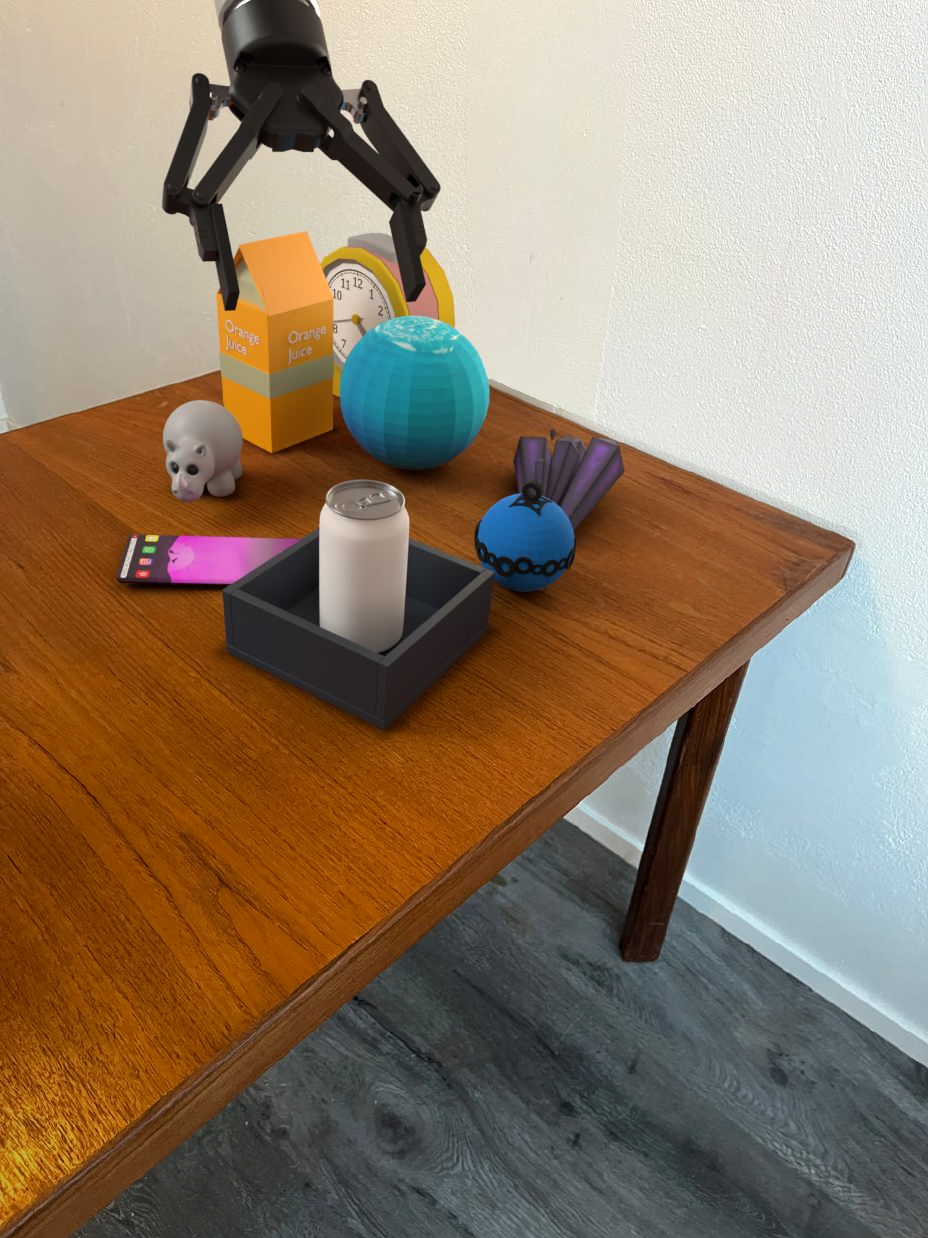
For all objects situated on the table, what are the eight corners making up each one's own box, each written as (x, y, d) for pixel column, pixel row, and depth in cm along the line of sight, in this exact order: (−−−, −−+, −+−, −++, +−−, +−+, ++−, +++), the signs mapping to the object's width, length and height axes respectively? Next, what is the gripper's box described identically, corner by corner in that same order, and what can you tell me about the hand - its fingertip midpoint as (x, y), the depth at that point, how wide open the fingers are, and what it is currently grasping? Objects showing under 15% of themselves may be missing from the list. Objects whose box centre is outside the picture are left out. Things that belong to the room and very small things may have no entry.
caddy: (226, 652, 74) (221, 589, 71) (342, 569, 84) (343, 511, 81) (384, 730, 68) (387, 666, 65) (487, 631, 79) (495, 571, 76)
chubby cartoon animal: (141, 525, 87) (130, 439, 82) (181, 464, 97) (173, 383, 92) (221, 534, 87) (215, 448, 82) (252, 472, 97) (249, 391, 92)
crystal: (607, 502, 85) (638, 399, 100) (479, 487, 88) (528, 389, 103) (602, 568, 90) (633, 460, 104) (482, 552, 92) (528, 449, 107)
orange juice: (223, 428, 104) (210, 234, 92) (286, 406, 110) (281, 221, 98) (272, 454, 100) (266, 255, 89) (334, 429, 106) (336, 240, 94)
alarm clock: (307, 386, 115) (306, 223, 104) (357, 369, 120) (360, 213, 110) (399, 428, 108) (408, 259, 97) (448, 408, 113) (461, 246, 102)
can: (303, 626, 76) (301, 490, 69) (371, 599, 80) (375, 468, 73) (350, 669, 72) (353, 531, 65) (419, 640, 76) (429, 505, 69)
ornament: (581, 575, 87) (599, 475, 81) (547, 624, 80) (564, 519, 75) (493, 547, 89) (505, 448, 84) (453, 592, 83) (463, 489, 77)
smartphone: (131, 541, 85) (129, 532, 84) (305, 542, 87) (305, 534, 86) (117, 588, 79) (115, 579, 79) (304, 588, 81) (304, 579, 81)
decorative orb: (313, 444, 103) (312, 303, 94) (433, 421, 110) (443, 287, 101) (383, 509, 93) (389, 358, 84) (510, 478, 101) (528, 337, 92)
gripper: (414, 69, 80) (469, 312, 78) (94, 55, 71) (146, 330, 69) (443, 0, 73) (503, 265, 71) (92, -25, 64) (149, 278, 62)
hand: (327, 297), depth 70 cm, fingers open, 13 cm apart
